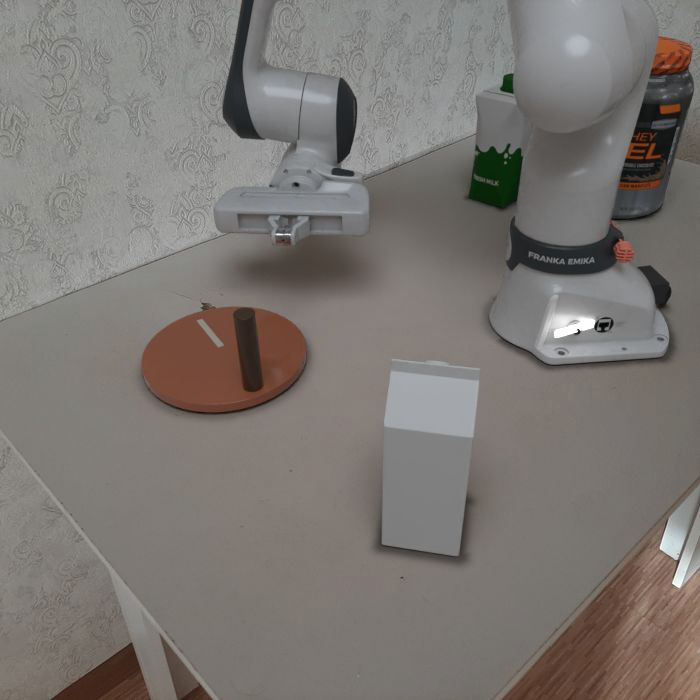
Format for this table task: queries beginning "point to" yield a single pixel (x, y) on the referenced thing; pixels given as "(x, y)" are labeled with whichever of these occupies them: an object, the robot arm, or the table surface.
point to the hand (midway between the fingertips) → (283, 240)
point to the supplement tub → (656, 131)
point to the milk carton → (427, 454)
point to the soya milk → (499, 145)
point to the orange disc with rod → (224, 359)
